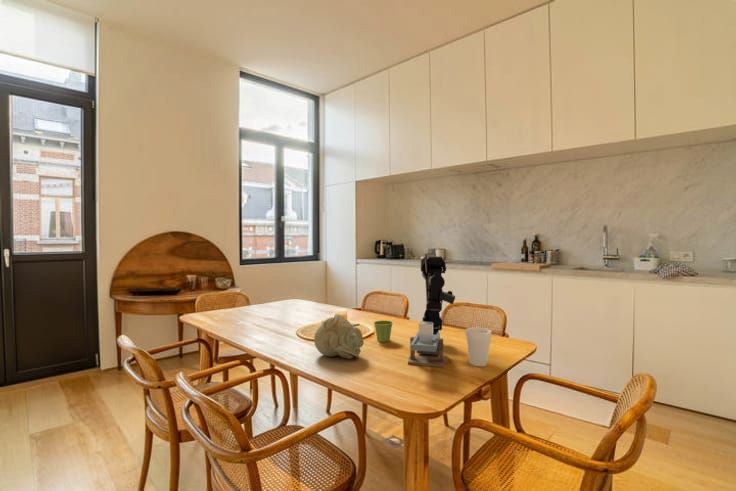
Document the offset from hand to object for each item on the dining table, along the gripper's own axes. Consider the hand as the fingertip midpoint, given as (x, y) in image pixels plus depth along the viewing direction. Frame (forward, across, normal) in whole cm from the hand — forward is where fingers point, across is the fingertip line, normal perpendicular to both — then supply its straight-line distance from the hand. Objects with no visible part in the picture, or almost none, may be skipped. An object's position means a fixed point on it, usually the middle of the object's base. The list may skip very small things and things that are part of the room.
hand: (434, 322), depth 156 cm
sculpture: (+13, -12, +39) cm, 43 cm away
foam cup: (+13, -10, -17) cm, 24 cm away
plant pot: (+13, +14, +25) cm, 31 cm away
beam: (+11, -15, +3) cm, 18 cm away
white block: (+4, -15, +3) cm, 16 cm away
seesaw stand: (+13, -12, +3) cm, 18 cm away
